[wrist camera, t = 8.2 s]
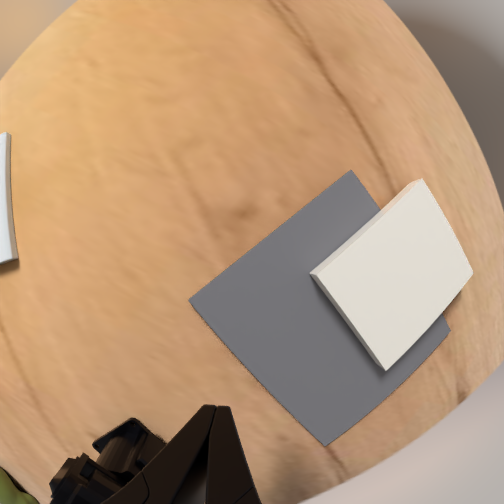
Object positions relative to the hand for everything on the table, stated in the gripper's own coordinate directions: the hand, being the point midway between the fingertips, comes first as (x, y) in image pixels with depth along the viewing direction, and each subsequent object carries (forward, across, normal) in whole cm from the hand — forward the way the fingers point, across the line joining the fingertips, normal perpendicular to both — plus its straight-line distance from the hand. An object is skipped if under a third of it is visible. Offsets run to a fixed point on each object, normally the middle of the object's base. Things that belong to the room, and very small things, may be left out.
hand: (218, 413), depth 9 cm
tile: (+12, -8, +4) cm, 15 cm away
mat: (+14, -7, +5) cm, 17 cm away
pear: (+1, +31, +28) cm, 42 cm away
